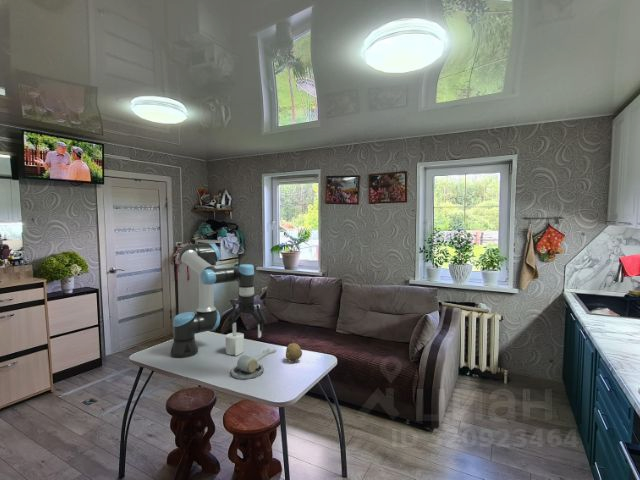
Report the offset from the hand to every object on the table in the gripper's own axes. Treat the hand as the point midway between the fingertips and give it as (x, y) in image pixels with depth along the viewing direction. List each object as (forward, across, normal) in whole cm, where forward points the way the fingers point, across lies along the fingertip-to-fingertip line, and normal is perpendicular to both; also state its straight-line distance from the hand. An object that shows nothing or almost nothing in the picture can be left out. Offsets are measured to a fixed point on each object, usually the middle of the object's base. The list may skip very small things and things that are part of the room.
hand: (246, 336), depth 171 cm
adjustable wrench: (+19, 0, +21) cm, 28 cm away
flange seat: (+19, 0, 0) cm, 19 cm away
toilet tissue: (+19, -18, +26) cm, 37 cm away
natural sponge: (+19, +20, +18) cm, 33 cm away
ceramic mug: (+18, +1, +1) cm, 18 cm away
